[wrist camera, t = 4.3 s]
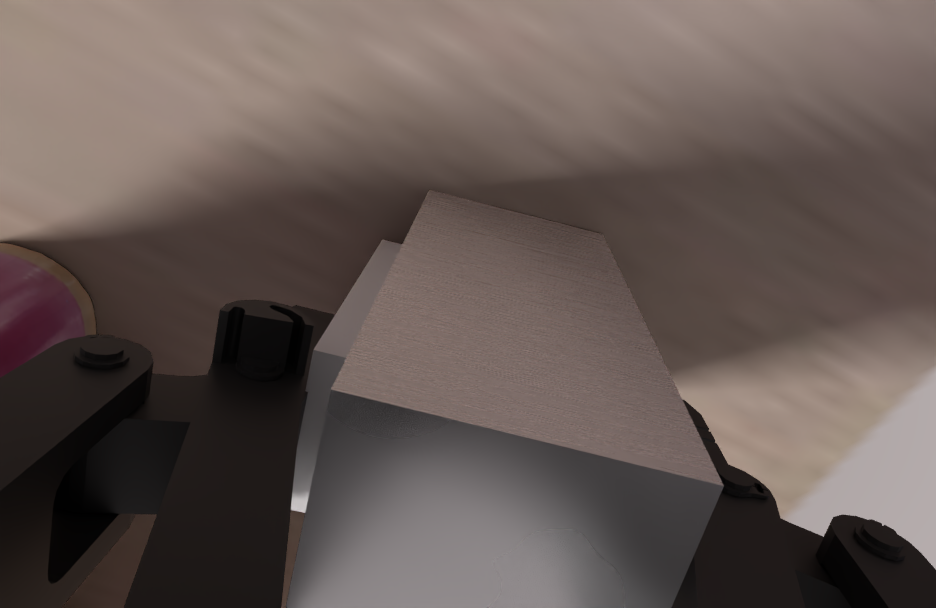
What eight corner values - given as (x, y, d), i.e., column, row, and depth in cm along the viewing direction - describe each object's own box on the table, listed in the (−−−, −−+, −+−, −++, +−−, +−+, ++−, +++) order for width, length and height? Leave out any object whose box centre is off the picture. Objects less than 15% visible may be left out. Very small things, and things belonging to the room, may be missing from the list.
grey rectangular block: (429, 189, 17) (330, 389, 7) (602, 234, 17) (723, 486, 7) (391, 349, 18) (268, 691, 9) (552, 389, 18) (601, 768, 9)
